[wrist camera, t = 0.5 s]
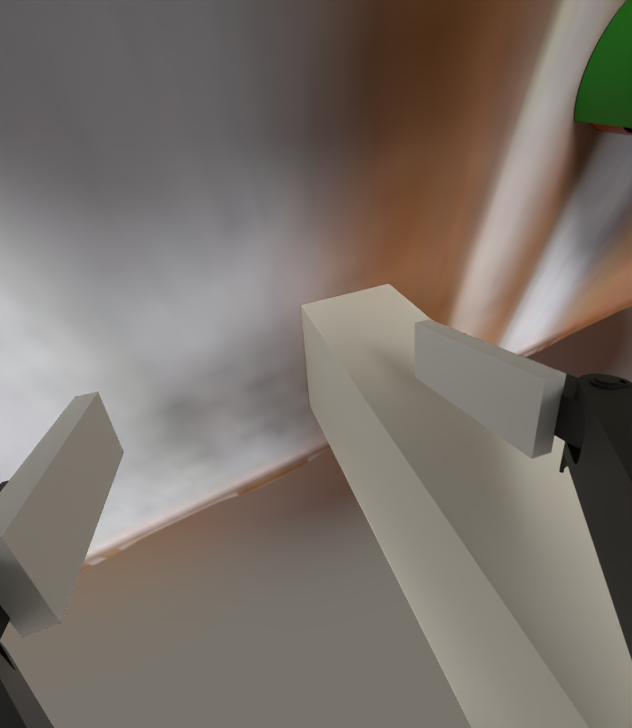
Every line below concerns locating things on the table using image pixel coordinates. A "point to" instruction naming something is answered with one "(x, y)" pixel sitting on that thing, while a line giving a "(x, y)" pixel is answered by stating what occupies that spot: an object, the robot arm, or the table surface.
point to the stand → (468, 528)
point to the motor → (609, 79)
